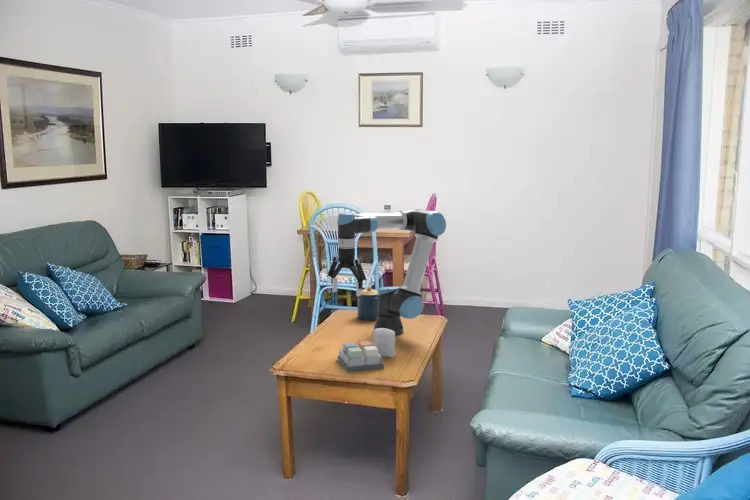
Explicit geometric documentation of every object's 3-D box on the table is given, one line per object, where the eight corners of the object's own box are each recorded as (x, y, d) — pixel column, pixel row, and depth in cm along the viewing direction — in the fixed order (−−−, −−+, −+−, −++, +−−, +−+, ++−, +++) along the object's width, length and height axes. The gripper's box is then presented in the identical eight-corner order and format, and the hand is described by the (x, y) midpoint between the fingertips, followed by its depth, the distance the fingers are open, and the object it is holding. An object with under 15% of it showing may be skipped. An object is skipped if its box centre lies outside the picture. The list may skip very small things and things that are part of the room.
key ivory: (374, 353, 267) (374, 345, 267) (378, 357, 262) (378, 349, 262) (363, 354, 265) (363, 346, 265) (366, 358, 261) (366, 350, 260)
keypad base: (371, 356, 277) (372, 346, 276) (383, 368, 262) (384, 357, 261) (337, 360, 272) (337, 349, 271) (347, 372, 257) (347, 360, 256)
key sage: (358, 355, 265) (358, 347, 264) (362, 358, 260) (362, 350, 260) (347, 356, 263) (347, 348, 263) (350, 359, 259) (350, 351, 258)
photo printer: (396, 355, 280) (396, 328, 278) (392, 357, 276) (393, 330, 274) (374, 352, 284) (375, 325, 282) (371, 354, 280) (371, 328, 278)
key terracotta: (369, 348, 274) (369, 341, 273) (372, 352, 269) (372, 344, 268) (358, 349, 272) (358, 342, 271) (361, 353, 267) (361, 345, 267)
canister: (385, 317, 345) (385, 286, 342) (370, 322, 335) (370, 290, 332) (367, 313, 353) (367, 283, 350) (352, 317, 343) (352, 286, 340)
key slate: (354, 350, 271) (354, 342, 271) (357, 353, 267) (357, 345, 266) (343, 351, 270) (343, 343, 269) (346, 354, 265) (346, 346, 265)
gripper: (319, 246, 283) (320, 291, 286) (364, 251, 269) (364, 298, 272) (330, 244, 289) (330, 288, 292) (374, 248, 275) (373, 295, 278)
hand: (346, 293), depth 282 cm, fingers open, 13 cm apart
